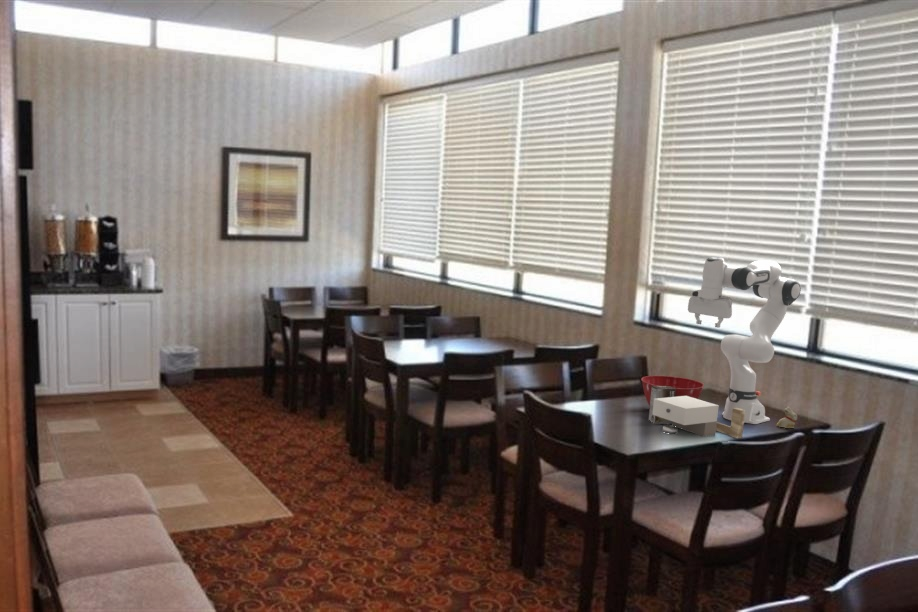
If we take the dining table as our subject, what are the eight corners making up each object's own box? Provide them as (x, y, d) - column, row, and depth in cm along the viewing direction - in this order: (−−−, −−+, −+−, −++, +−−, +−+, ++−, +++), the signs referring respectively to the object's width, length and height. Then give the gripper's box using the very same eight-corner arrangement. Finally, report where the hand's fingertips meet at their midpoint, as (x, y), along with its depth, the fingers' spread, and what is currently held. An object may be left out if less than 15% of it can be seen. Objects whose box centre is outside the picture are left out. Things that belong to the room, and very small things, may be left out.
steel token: (669, 430, 352) (670, 424, 352) (680, 434, 347) (680, 428, 347) (659, 431, 349) (660, 425, 348) (670, 435, 344) (670, 429, 343)
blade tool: (702, 424, 365) (705, 398, 364) (742, 437, 347) (745, 410, 346) (697, 425, 364) (700, 399, 362) (737, 438, 346) (740, 410, 344)
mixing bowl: (637, 416, 372) (640, 383, 370) (639, 403, 400) (642, 372, 398) (701, 424, 366) (705, 390, 364) (698, 410, 393) (702, 379, 391)
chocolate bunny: (792, 430, 366) (795, 408, 365) (775, 426, 371) (777, 405, 370) (796, 428, 371) (799, 407, 369) (779, 424, 376) (781, 403, 374)
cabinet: (683, 424, 364) (686, 395, 362) (715, 435, 349) (718, 405, 347) (649, 428, 352) (652, 398, 351) (681, 439, 337) (684, 408, 336)
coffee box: (666, 420, 368) (670, 385, 367) (673, 424, 362) (676, 389, 360) (647, 420, 367) (651, 385, 365) (654, 424, 360) (657, 388, 358)
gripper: (736, 297, 350) (733, 329, 351) (695, 291, 365) (692, 322, 367) (728, 297, 346) (724, 329, 347) (687, 291, 361) (684, 322, 363)
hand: (708, 325), depth 357 cm, fingers open, 8 cm apart
